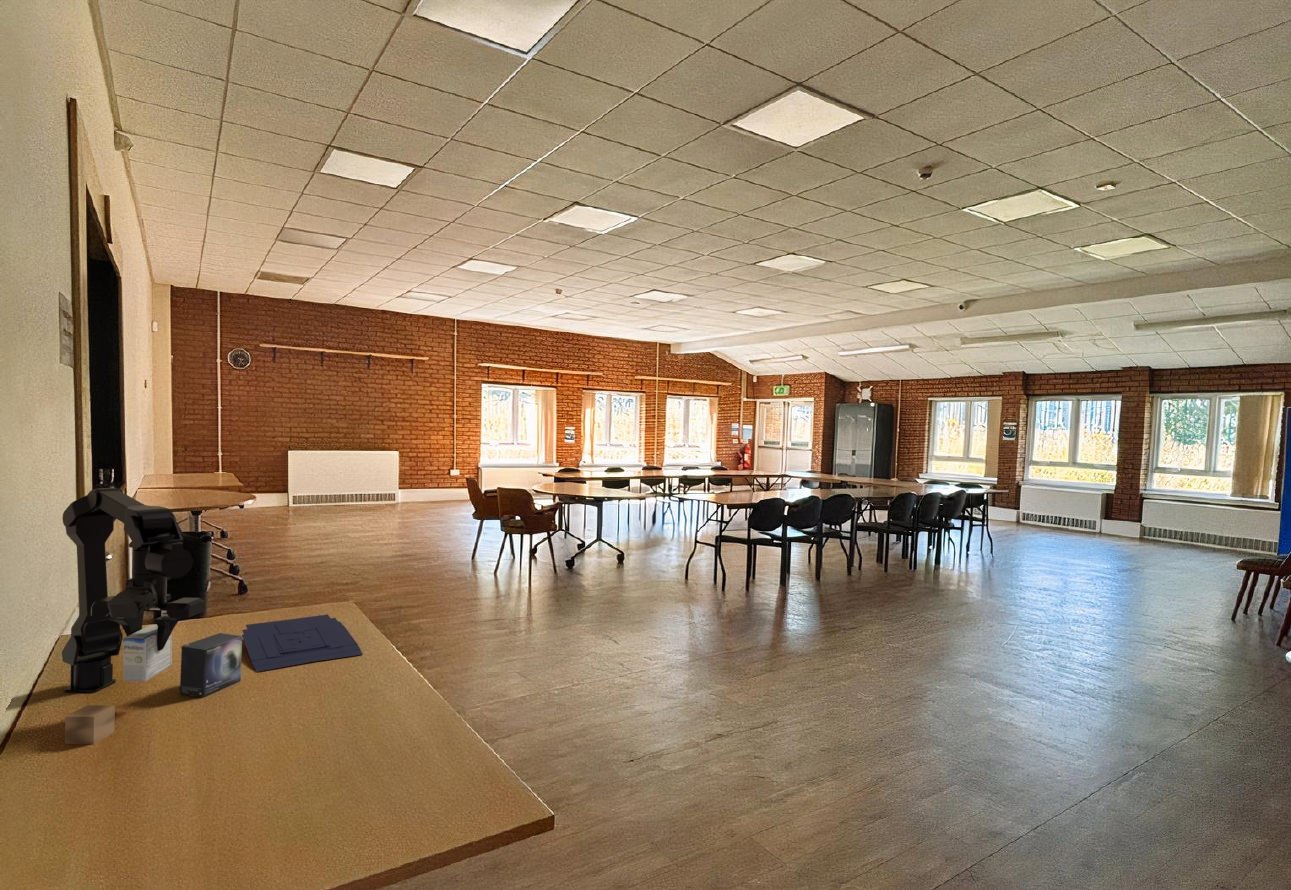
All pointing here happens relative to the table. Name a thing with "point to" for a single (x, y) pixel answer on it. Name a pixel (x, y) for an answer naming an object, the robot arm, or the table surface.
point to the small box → (210, 664)
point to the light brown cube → (89, 724)
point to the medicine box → (145, 655)
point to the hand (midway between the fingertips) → (148, 649)
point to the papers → (297, 642)
